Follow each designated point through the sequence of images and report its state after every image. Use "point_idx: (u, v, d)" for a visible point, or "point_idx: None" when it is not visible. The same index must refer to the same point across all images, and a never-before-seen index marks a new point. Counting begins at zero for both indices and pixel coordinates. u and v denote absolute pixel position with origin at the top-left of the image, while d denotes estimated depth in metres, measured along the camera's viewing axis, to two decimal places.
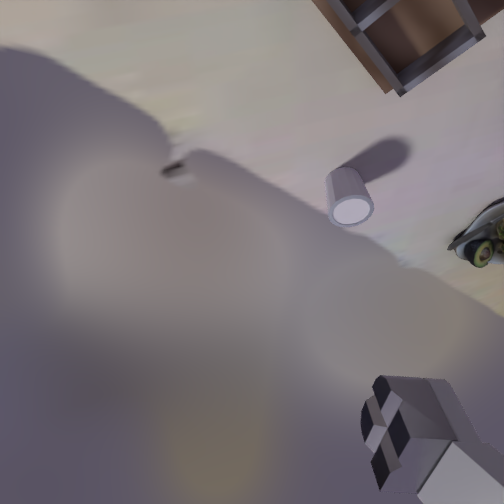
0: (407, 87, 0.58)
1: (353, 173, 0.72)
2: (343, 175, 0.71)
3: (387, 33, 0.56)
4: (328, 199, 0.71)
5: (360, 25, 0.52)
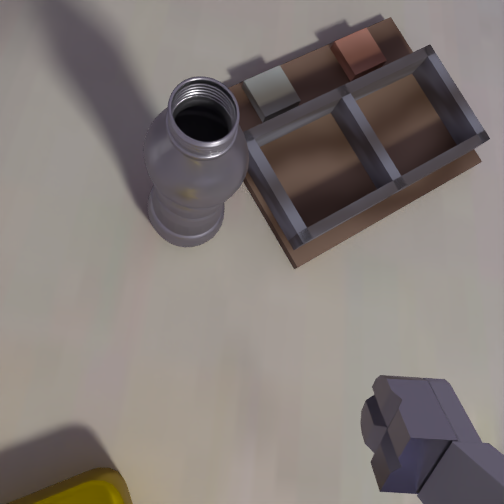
0: (478, 129, 0.46)
1: None
2: None
3: (408, 154, 0.47)
4: None
5: (394, 177, 0.43)
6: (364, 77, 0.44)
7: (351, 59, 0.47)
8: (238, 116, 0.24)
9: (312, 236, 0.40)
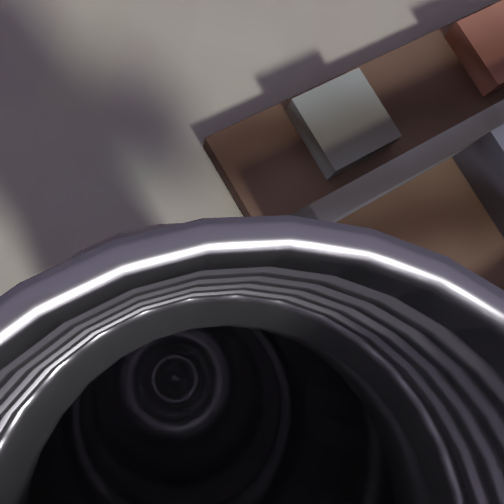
0: None
1: None
2: None
3: None
4: None
5: None
6: None
7: (489, 55, 0.25)
8: None
9: None
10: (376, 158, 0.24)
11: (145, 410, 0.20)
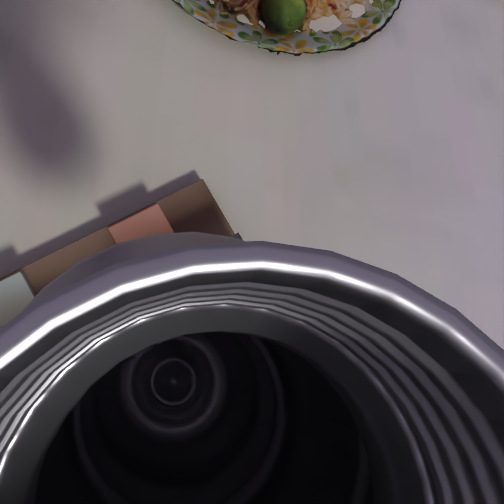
0: None
1: None
2: None
3: None
4: None
5: None
6: None
7: None
8: None
9: None
10: None
11: (145, 413, 0.20)
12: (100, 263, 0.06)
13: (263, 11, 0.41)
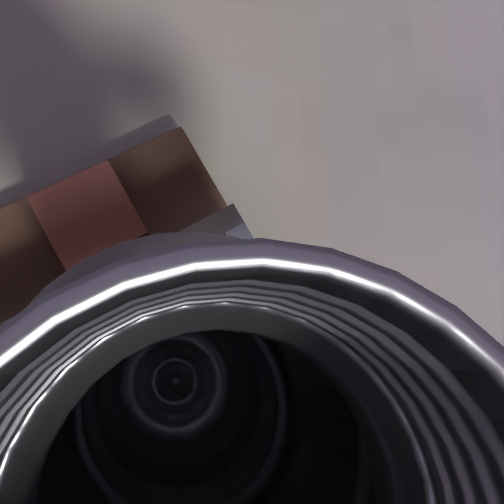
0: None
1: None
2: None
3: None
4: None
5: None
6: None
7: (62, 236, 0.21)
8: None
9: None
10: None
11: (146, 413, 0.20)
12: (102, 262, 0.06)
13: None
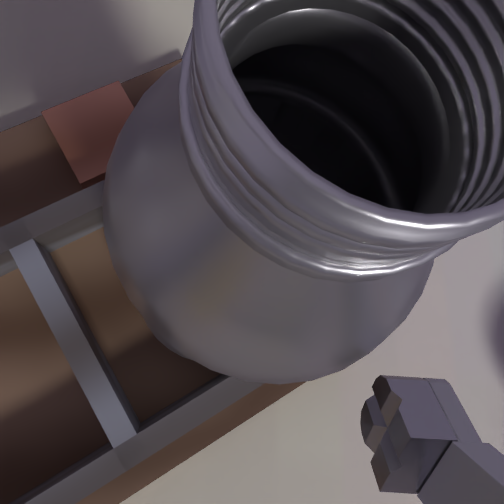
0: None
1: None
2: None
3: None
4: None
5: (118, 439, 0.19)
6: (73, 199, 0.20)
7: (75, 149, 0.22)
8: None
9: None
10: None
11: None
12: None
13: None
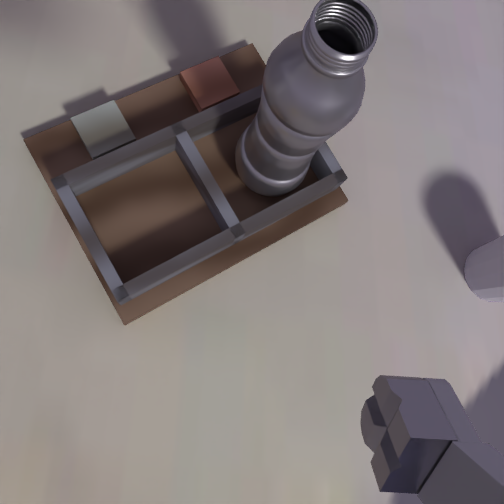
0: (334, 167, 0.41)
1: (475, 254, 0.45)
2: (475, 269, 0.44)
3: None
4: None
5: (231, 224, 0.39)
6: (204, 112, 0.40)
7: (198, 91, 0.43)
8: (376, 31, 0.25)
9: (128, 293, 0.36)
10: None
11: None
12: (297, 32, 0.28)
13: None
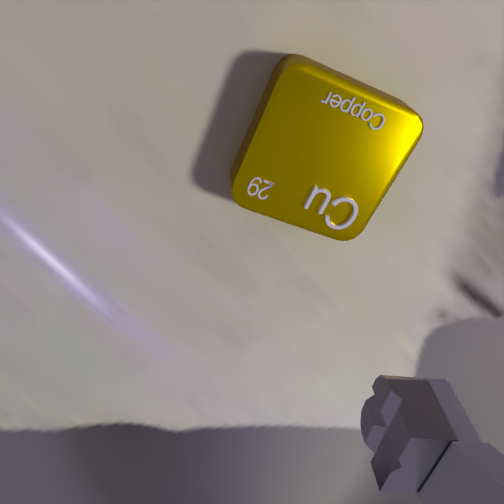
0: None
1: None
2: None
3: None
4: None
5: None
6: None
7: None
8: None
9: None
10: None
11: None
12: None
13: None
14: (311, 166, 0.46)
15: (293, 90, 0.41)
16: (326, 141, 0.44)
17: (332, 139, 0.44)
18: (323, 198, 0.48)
